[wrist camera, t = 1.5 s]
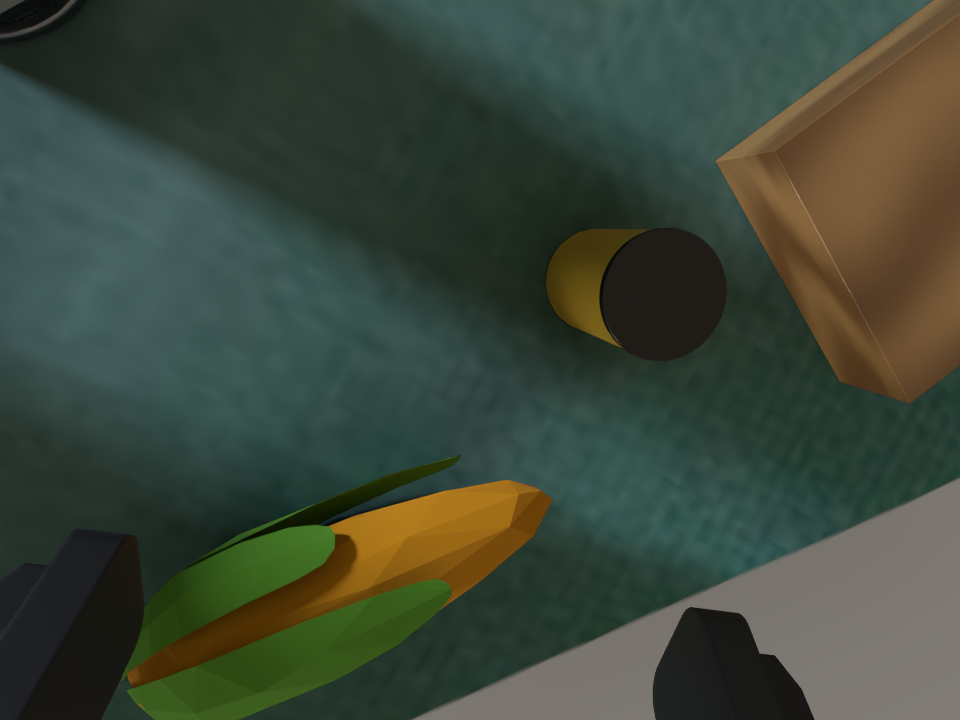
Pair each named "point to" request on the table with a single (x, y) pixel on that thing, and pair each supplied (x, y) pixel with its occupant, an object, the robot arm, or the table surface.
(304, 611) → the corn
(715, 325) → the tin
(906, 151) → the wood block
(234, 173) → the table surface
